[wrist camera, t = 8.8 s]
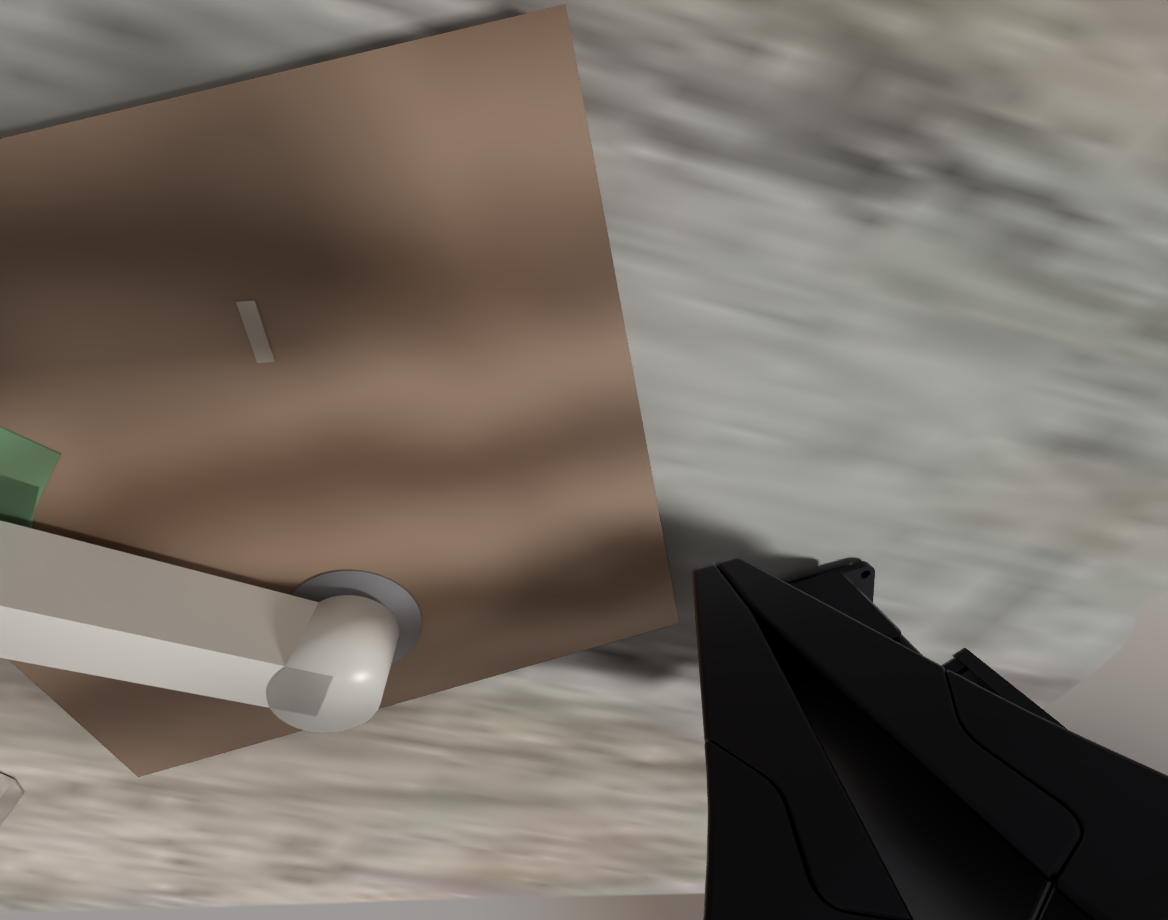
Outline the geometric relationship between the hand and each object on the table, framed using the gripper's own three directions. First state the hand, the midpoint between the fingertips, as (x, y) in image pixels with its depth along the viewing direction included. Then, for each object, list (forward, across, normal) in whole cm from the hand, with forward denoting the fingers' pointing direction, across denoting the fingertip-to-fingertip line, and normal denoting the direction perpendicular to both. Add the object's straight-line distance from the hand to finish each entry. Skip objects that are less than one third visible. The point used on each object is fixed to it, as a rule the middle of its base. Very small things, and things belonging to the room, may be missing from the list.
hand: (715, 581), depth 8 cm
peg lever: (+9, +17, +2) cm, 19 cm away
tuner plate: (+11, +12, 0) cm, 16 cm away
